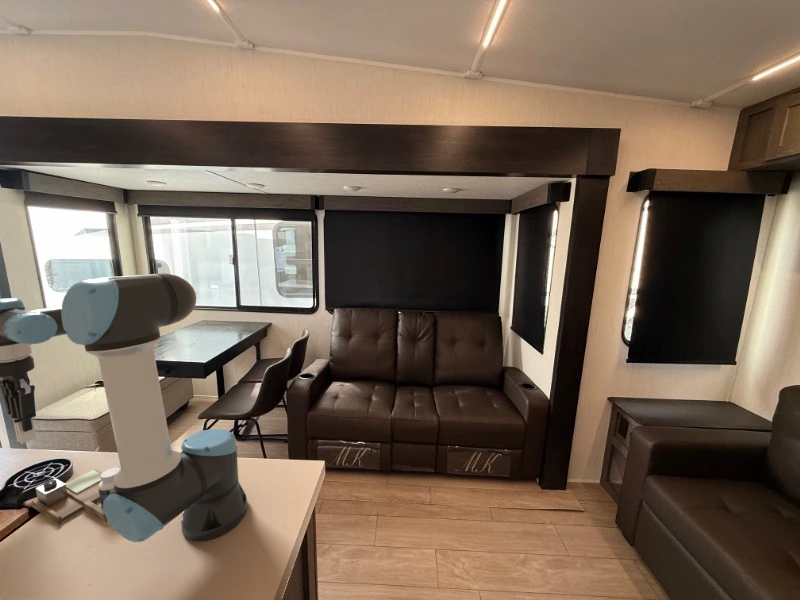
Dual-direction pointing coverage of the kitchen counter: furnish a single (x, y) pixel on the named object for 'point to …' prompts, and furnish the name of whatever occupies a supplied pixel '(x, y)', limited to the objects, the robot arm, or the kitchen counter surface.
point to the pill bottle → (107, 484)
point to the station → (75, 499)
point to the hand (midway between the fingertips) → (26, 439)
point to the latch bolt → (51, 492)
